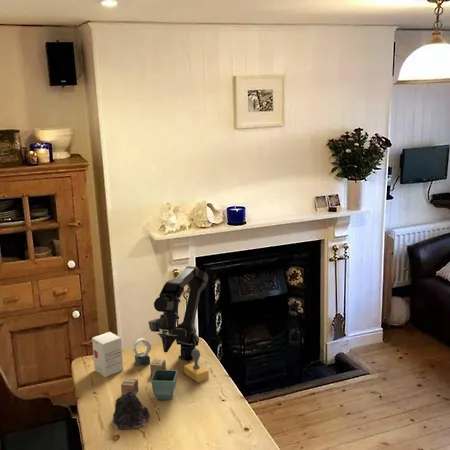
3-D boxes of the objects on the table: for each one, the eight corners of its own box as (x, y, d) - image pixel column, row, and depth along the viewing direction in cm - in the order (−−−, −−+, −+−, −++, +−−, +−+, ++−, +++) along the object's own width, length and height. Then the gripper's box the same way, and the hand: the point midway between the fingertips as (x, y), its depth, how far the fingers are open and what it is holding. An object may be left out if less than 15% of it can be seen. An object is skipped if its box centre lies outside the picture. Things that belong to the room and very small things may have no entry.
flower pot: (178, 390, 223) (177, 369, 221) (174, 403, 214) (173, 381, 212) (156, 390, 224) (155, 369, 222) (151, 402, 215) (150, 380, 213)
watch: (154, 362, 246) (152, 338, 244) (137, 367, 242) (135, 343, 239) (148, 357, 251) (146, 334, 248) (131, 362, 246) (129, 339, 244)
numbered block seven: (154, 369, 240) (153, 358, 239) (166, 370, 239) (165, 359, 238) (150, 375, 235) (150, 364, 234) (162, 376, 234) (161, 365, 233)
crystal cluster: (137, 437, 195) (139, 410, 194) (103, 426, 200) (104, 400, 198) (155, 418, 208) (157, 393, 206) (122, 409, 212) (123, 384, 210)
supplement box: (93, 370, 241) (91, 337, 237) (112, 363, 247) (109, 330, 243) (105, 377, 234) (102, 344, 231) (123, 370, 240) (121, 337, 237)
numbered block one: (126, 389, 225) (125, 377, 224) (138, 390, 224) (137, 378, 223) (121, 396, 220) (120, 384, 219) (134, 397, 219) (133, 385, 218)
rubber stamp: (209, 378, 232) (208, 351, 229) (197, 383, 228) (196, 355, 226) (195, 369, 240) (194, 342, 237) (184, 373, 236) (182, 346, 233)
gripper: (142, 309, 233) (136, 348, 231) (164, 312, 218) (159, 353, 216) (165, 312, 240) (160, 350, 237) (189, 315, 224) (184, 355, 222)
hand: (165, 352), depth 228 cm, fingers closed
